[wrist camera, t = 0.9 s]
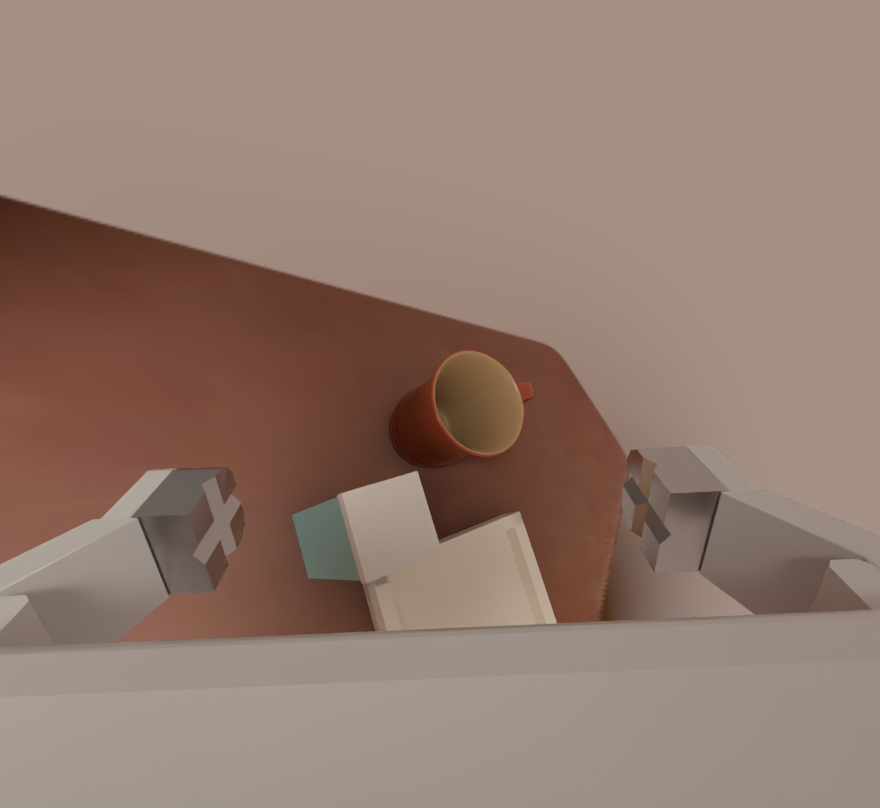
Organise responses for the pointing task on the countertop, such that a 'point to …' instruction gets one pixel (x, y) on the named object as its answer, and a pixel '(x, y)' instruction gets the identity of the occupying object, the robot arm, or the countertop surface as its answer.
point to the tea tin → (367, 531)
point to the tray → (466, 583)
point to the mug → (460, 412)
